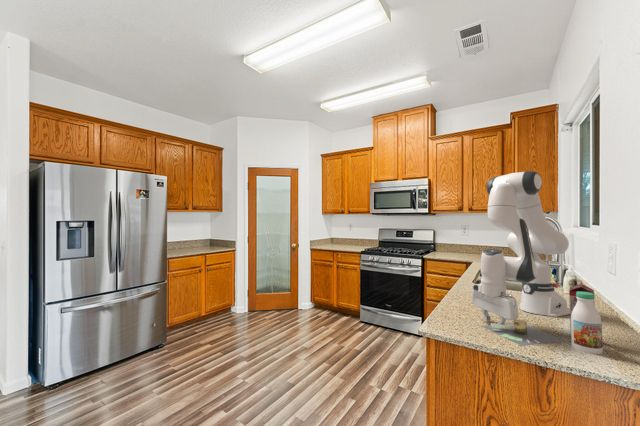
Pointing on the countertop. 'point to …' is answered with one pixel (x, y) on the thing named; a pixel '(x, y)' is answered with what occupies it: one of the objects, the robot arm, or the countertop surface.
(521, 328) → the tuner knob with pointer
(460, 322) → the countertop surface
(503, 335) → the dial board
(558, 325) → the countertop surface
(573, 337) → the milk bottle
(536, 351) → the countertop surface
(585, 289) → the milk carton
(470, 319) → the countertop surface
